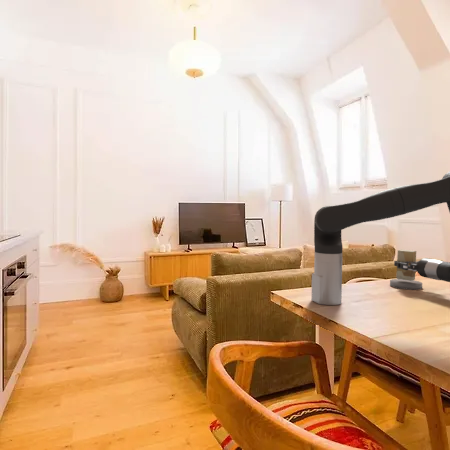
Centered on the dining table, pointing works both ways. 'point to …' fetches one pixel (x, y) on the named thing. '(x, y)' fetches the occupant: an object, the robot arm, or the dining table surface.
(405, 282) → the stand
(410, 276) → the skincare box
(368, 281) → the dining table surface
